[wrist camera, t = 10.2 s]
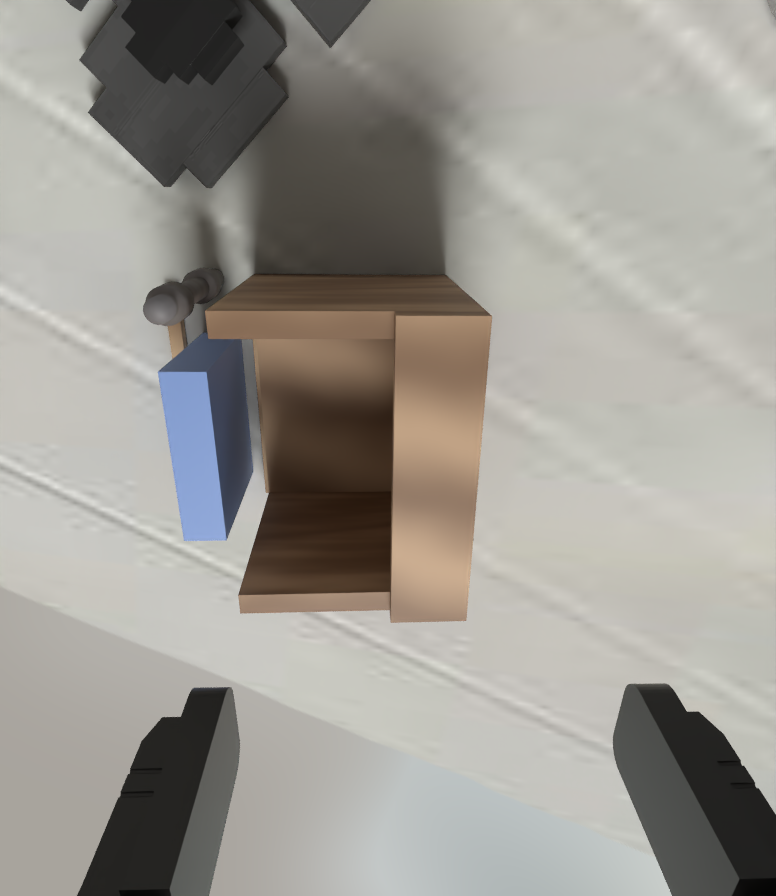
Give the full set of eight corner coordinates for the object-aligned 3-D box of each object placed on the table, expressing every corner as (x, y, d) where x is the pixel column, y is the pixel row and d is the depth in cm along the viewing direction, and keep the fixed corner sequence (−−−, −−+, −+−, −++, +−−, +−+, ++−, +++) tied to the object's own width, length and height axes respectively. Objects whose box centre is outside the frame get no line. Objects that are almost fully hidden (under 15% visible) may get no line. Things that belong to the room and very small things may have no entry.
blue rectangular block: (203, 332, 37) (157, 371, 28) (240, 332, 37) (206, 372, 29) (219, 471, 41) (184, 540, 33) (253, 471, 41) (226, 540, 33)
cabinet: (163, 263, 35) (55, 299, 22) (446, 265, 36) (493, 301, 23) (196, 500, 42) (128, 628, 29) (434, 497, 42) (466, 620, 30)
